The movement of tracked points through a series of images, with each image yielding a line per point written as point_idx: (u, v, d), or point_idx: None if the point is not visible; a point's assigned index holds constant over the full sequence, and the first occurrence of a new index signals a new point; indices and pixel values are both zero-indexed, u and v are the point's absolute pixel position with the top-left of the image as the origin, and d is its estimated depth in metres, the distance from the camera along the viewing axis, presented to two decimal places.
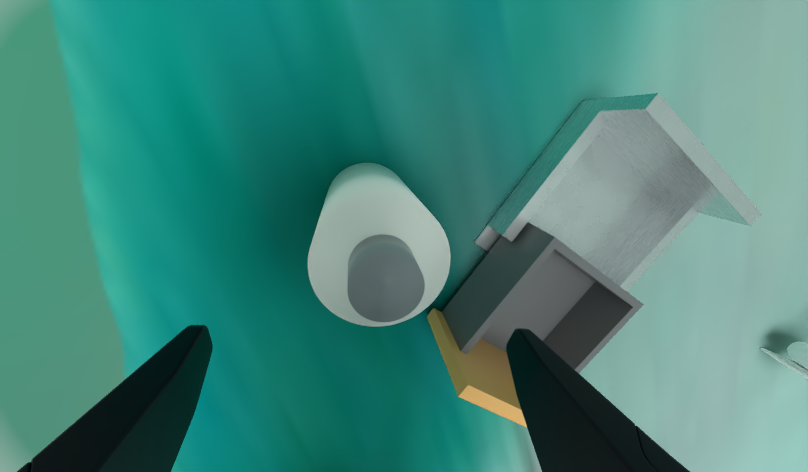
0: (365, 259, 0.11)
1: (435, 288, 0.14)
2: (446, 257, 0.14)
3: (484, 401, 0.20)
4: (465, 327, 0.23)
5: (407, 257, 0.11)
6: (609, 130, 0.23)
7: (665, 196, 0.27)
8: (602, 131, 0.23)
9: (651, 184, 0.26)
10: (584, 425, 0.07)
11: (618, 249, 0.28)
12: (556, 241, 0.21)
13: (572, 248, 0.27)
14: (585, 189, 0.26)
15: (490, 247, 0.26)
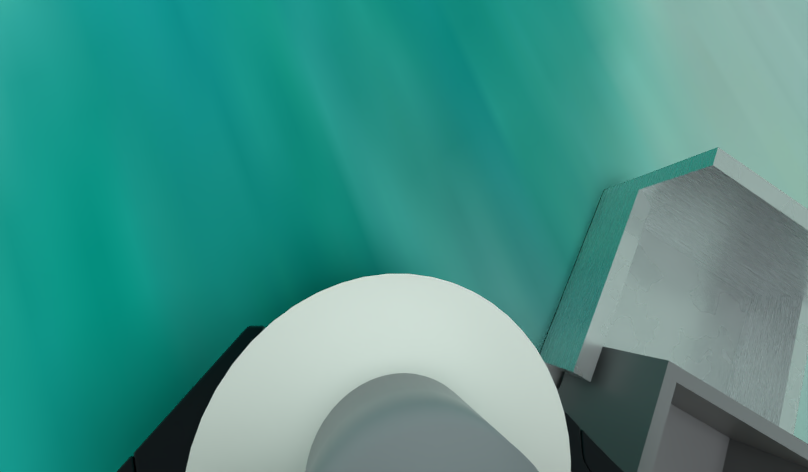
0: (350, 462, 0.03)
1: None
2: (556, 419, 0.05)
3: None
4: None
5: (492, 432, 0.03)
6: (654, 214, 0.18)
7: (752, 292, 0.20)
8: None
9: (727, 278, 0.20)
10: None
11: (730, 377, 0.19)
12: (673, 368, 0.12)
13: None
14: (650, 293, 0.19)
15: None
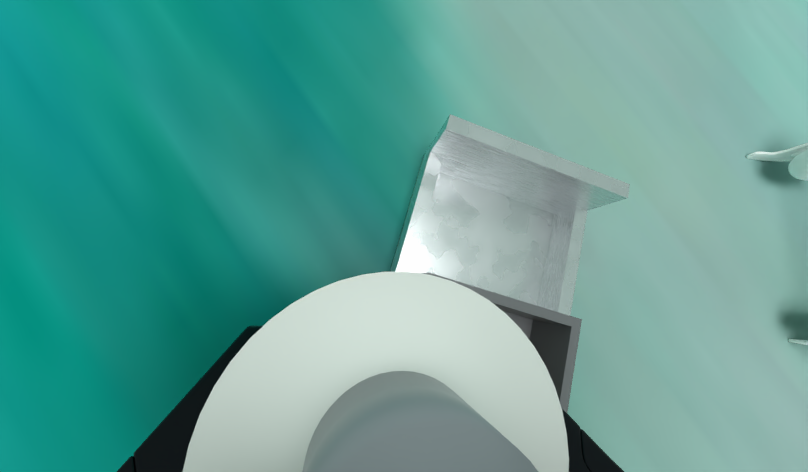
0: (347, 458, 0.03)
1: None
2: (554, 417, 0.05)
3: None
4: None
5: (489, 429, 0.03)
6: (453, 167, 0.24)
7: (552, 209, 0.26)
8: (452, 171, 0.24)
9: (531, 203, 0.26)
10: None
11: (543, 277, 0.25)
12: None
13: None
14: (470, 228, 0.25)
15: None
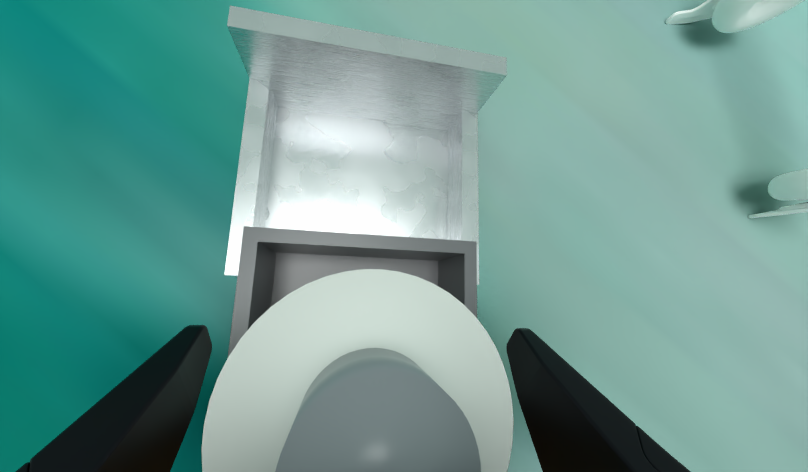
0: (321, 394, 0.04)
1: (493, 468, 0.06)
2: (501, 387, 0.07)
3: None
4: None
5: (425, 379, 0.05)
6: (294, 94, 0.18)
7: (442, 125, 0.21)
8: (299, 103, 0.19)
9: (415, 123, 0.21)
10: (585, 425, 0.07)
11: (448, 209, 0.21)
12: (251, 230, 0.13)
13: None
14: (342, 169, 0.20)
15: None
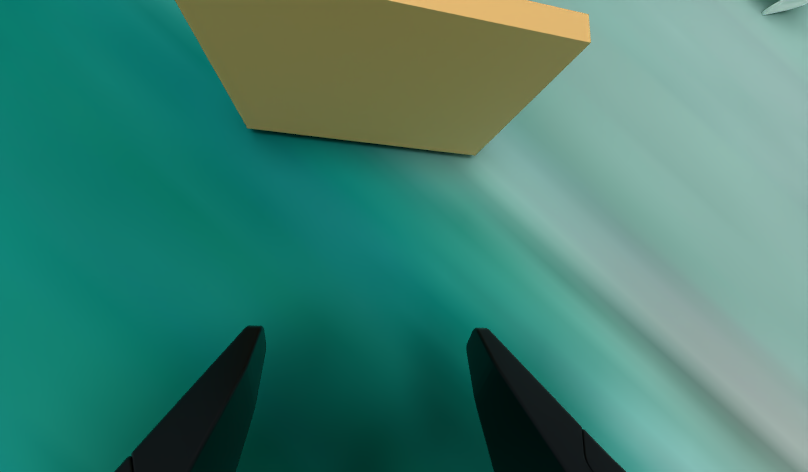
0: None
1: None
2: None
3: None
4: None
5: None
6: None
7: None
8: None
9: None
10: (529, 428, 0.07)
11: None
12: None
13: None
14: None
15: None
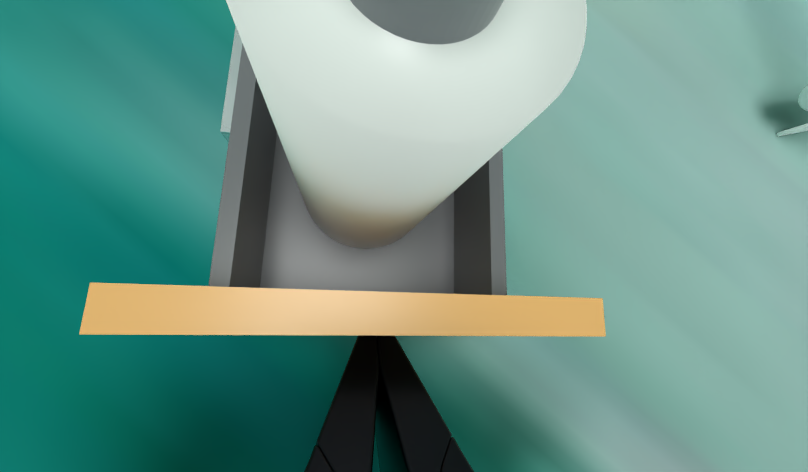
0: None
1: (567, 44, 0.05)
2: None
3: (187, 313, 0.07)
4: None
5: None
6: None
7: None
8: None
9: None
10: (395, 436, 0.06)
11: None
12: None
13: None
14: None
15: None
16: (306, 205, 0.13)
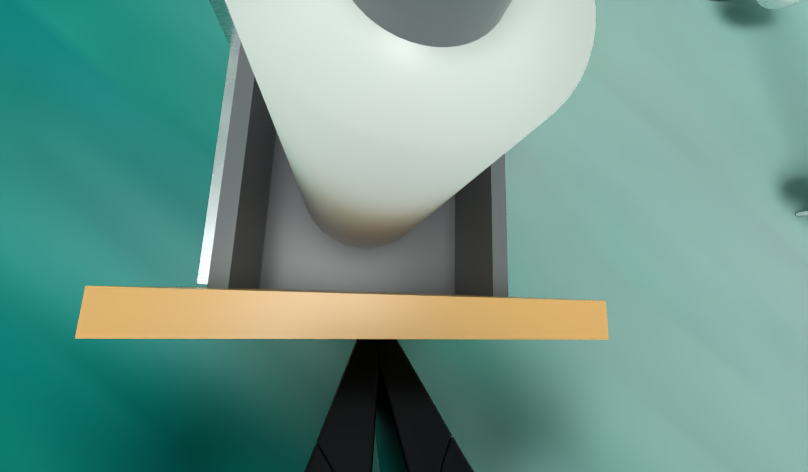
0: None
1: (575, 46, 0.05)
2: None
3: (184, 316, 0.07)
4: None
5: None
6: None
7: None
8: None
9: None
10: (395, 436, 0.06)
11: None
12: None
13: None
14: None
15: None
16: (306, 204, 0.13)
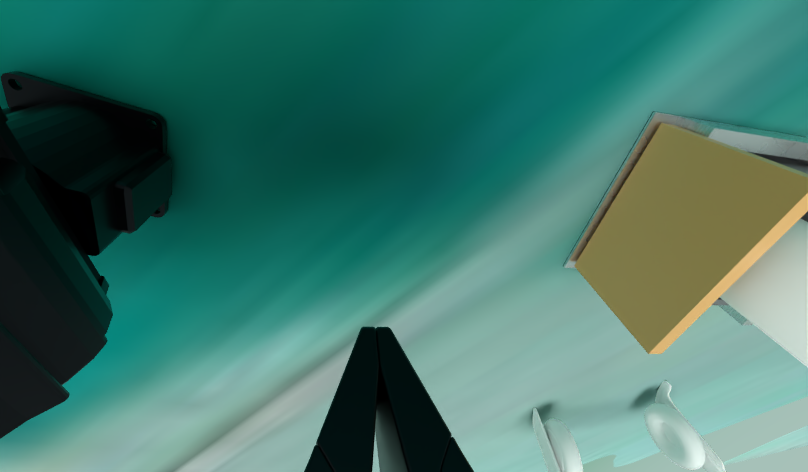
0: None
1: None
2: None
3: (788, 219, 0.14)
4: None
5: None
6: None
7: None
8: None
9: None
10: (395, 436, 0.06)
11: None
12: None
13: None
14: None
15: (647, 135, 0.21)
16: None
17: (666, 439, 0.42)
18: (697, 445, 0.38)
